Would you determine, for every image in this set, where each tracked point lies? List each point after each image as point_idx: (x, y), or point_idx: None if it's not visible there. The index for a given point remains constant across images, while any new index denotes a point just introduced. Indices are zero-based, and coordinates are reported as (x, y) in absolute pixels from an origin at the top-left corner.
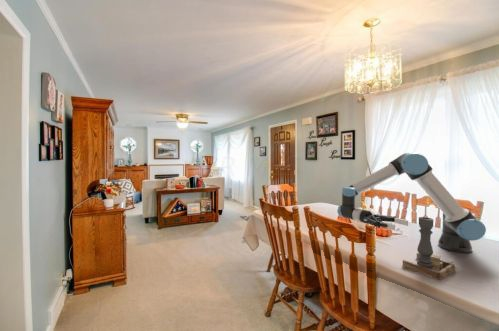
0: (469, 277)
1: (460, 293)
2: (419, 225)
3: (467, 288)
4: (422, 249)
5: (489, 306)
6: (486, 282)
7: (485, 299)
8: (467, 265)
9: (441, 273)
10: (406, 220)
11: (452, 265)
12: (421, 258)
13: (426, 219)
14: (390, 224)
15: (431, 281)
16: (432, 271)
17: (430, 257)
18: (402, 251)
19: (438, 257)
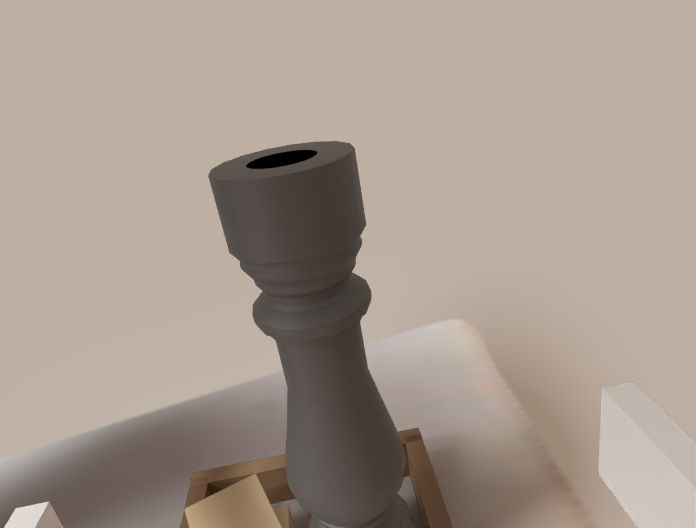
0: (247, 436)
1: (458, 378)
2: (338, 257)
3: (382, 390)
4: (396, 432)
5: (447, 326)
6: (245, 397)
7: (410, 344)
8: None
9: (410, 430)
10: (28, 525)
11: (228, 466)
12: (396, 511)
13: (322, 147)
14: (690, 444)
15: (490, 466)
16: (430, 464)
17: (278, 522)
18: None
19: (243, 488)
